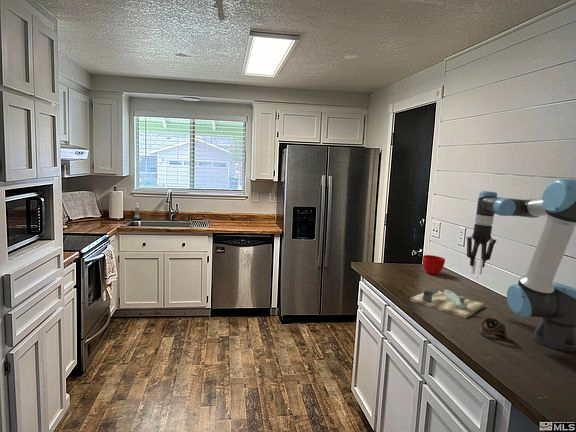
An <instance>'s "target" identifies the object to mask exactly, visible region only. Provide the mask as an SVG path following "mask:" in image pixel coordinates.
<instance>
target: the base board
mask: <svg viewBox="0 0 576 432" xmlns="http://www.w3.org/2000/svg"><path fill="white" fill-rule="evenodd" d="M423 295H424V291H423V292H421V293H419V294H417V295H413V296H411V297H410V298H409V301H410V302H413V303H416V304H420V305H421V306H422V305H423V306H425V307H428V308H432V309H435V310H438V311H441V312H444V313H447V314H451V315H453V316H454V315H455V316H457V317H460V318H464V319H467V318H468V317H470V316H472V315H473V314H475V313H476V312H478V311H479V310H481V309H482V308H484V307H485V303H483V302H479V301H476V300H471V299H468V298H467V297H466V296H463V295H459V296H458V297H459V298H460V302H461V303H464V302H465V303H467V304H468V305H467V309H460V308H457V307H455V305H454V304H453V303H452V302H451V301H450V300H449V299H448V298H447V297H446V296H445V295H444V291H440V290H439V291H438V293H436V294H434V295H432V301H431V302H426V301H423Z"/></svg>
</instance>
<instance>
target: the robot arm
mask: <svg viewBox="0 0 576 432" xmlns="http://www.w3.org/2000/svg"><path fill="white" fill-rule="evenodd" d="M495 215H498V216H500V217H509V216H510V217H521V218H522V217H525V218H531V219H534V218H539V217H541V216H546V217H547V219H546V221H545V224H544V226H543V230H542V232H541V235H540V237H539V240H538V242H537V246H536V248H535V251H534V253H533V256H532V259H531V261H530V264H529V266H528V269H527V271H526V274H525V275H523V276H520V277H519V280H518V282H517V284H516V283H515V284H511V285H510V286H509V287H508V288H507V291H506V301H507V304H508V306H509V308H510V310H511V311H512V312H513V314H515V315H517V316H519V317H520V316H521V317H526V318H529V317H530V318H541V320H540V322H539V323H538V325H537V326H536V328H535V330H534V331H533V336H532V337H533V339H534V341H536V342H537V343H539V344H540V345H543V346H545V347H547V348H551V349H553V350H557V351H562V352H571V353H572V352H575V351H576V288H575V287H572V286H570V285H566V284H562V283H558V282H555V281H554V279H555V277H556V273H557V272H558V269H559V267H560V265H561V262H562V260H563V257H564V256H565V252H566V249H567V247H568V245H569V242H570V240H571V238H572V235H573V233H574V231H575V228H576V178H558V179H556V180H554V181H552V182H550V183H549V184H548V185H547V186H546V188H545V189H544V190H543V192H542V196H541V197H537V198H530V199H518V198H507V197H501V196H500V197H498V192H496V191H490V190H489V191H488V190H487V191H486V190H481V191H480V192H479V195H478V200H477V206H476V214H475V218H474V219H475V220H474V222H475V223H474V225H473V233H472V234H471V235H470V236H466V237H465V238H466V257H467V258H469V260H470V261H469V266H470V273H471V274H473V275H474V274H475V271H476V266H477V259H476V257H477V253H478V249H479V247H481V252H480V253H481V254H480V255H481V256H480V259H479V260H478V266H477V274H478V275H482V271H483V268H484V267H485V264H486V262H487V261H488V260H491V257H492V253H493V250H494V246H495V244H496V243H497V239H494V238H493V237H492V236H491V235H492V231H493V223H494V217H495ZM473 241H474V243H473ZM488 242H489V243H488ZM575 353H576V352H575Z"/></svg>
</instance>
